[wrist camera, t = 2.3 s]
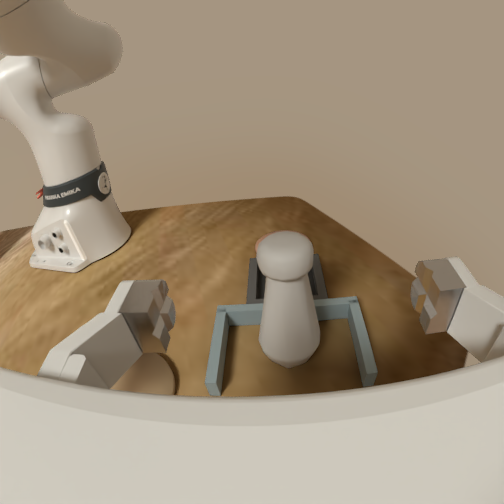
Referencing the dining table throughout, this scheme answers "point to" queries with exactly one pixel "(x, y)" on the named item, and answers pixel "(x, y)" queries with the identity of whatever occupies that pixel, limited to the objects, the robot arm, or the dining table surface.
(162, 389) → the cork trivet
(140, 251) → the dining table surface
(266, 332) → the salt shaker
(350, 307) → the cubby bay
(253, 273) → the hole frame
